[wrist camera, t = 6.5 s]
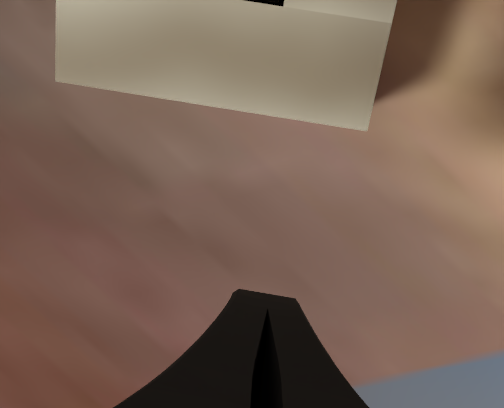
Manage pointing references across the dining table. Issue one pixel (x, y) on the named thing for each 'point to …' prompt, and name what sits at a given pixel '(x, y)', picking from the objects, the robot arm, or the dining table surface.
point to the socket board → (232, 53)
